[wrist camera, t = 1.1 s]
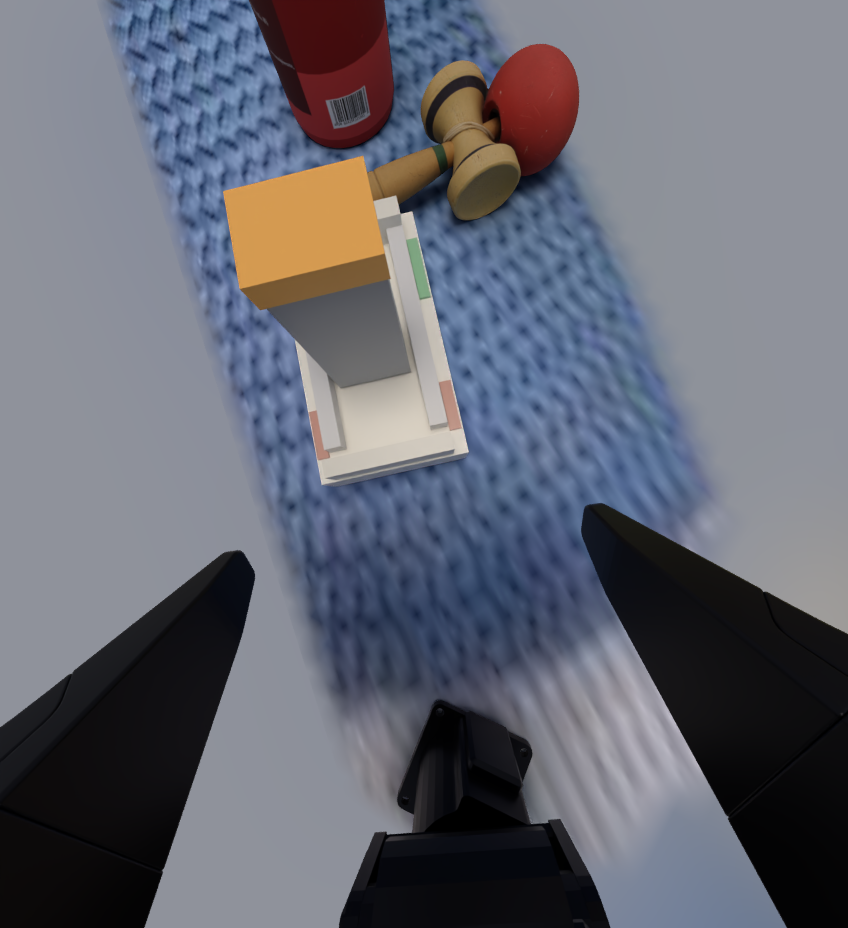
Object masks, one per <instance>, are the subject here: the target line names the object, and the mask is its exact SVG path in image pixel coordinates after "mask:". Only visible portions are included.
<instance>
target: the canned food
mask: <svg viewBox="0 0 848 928" xmlns="http://www.w3.org/2000/svg"><path fill="white" fill-rule="evenodd" d="M249 2H250V4H251V7H252V9H253V12H254V14H255V17H256V19H257V22H258V25H259V27H260V30H261V32H262V35H263V37H264V40H265V42H266V45H267V47H268V50H269V53H270V55H271V58H272V60H273V63H274V65H275V68H276V70H277V73H278V76H279V78H280V81H281V83H282V86H283V88H284V91H285V93H286V96H287V98H288V101H289V104H290V106H291V109H292V111H293V114H294V116H295V118H296V120H297V122H298V123H299V124H300V126H301V127H302V129H303V130H304V131H305V132H306V134H307V135H308V136H309V137H310V138H311V139H313V140H314V141H315V142H317V143H319V144H321V145H323V146H327V147H331V148H346V147H352V146H355V145H358V144H361V143H363V142H365V141H367V140H368V139H370V138H371V137H372V136H374V135H375V134H376V133H377V132H378V131H379V130H380V129H381V128H382V127H383V125H384V124H385V122H386V121H387V119H388V117H389V114H390V111H391V107H392V100H393V92H394V83H393V73H392V64H391V55H390V46H389V38H388V29H387V20H386V11H385V2H384V0H249Z"/></svg>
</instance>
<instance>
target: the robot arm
mask: <svg viewBox="0 0 848 928" xmlns="http://www.w3.org/2000/svg"><path fill="white" fill-rule="evenodd" d="M581 533H582V537H583V540H584V543H585V545H586V547H587V550H588V552H589V555H590V557H591V560H592V562H593V565H594V567H595V570H596V572H597V574H598V577H599V579H600V582H601V584H602V586H603V589H604V591H605V593H606V595H607V597H608V599H609V601H610V603H611V605H612V606H613V608H614V610H615V612H616V614H617V616H618V617H619V619H620V621H621V623H622V625H623V627H624V628H625V630H626V632H627V634H628V636H629V638H630V640H631V641H632V643H633V645H634V647H635V649H636V651H637V652H638V654H639V656H640V658H641V660H642V662H643V663H644V665H645V667H646V669H647V671H648V673H649V674H650V676H651V678H652V680H653V682H654V684H655V686H656V687H657V689H658V691H659V693H660V695H661V697H662V698H663V700H664V702H665V704H666V706H667V708H668V709H669V711H670V713H671V715H672V717H673V719H674V720H675V722H676V724H677V726H678V728H679V730H680V731H681V733H682V735H683V737H684V739H685V741H686V743H687V744H688V746H689V748H690V750H691V752H692V754H693V755H694V757H695V759H696V761H697V763H698V765H699V766H700V768H701V770H702V772H703V774H704V776H705V777H706V779H707V781H708V783H709V785H710V787H711V789H712V790H713V792H714V794H715V796H716V798H717V799H718V801H719V803H720V805H721V807H722V809H723V810H724V812H725V814H726V815H727V816H728V820H729V822H730V824H731V826H732V828H733V830H734V831H735V833H736V835H737V837H738V839H739V840H740V842H741V844H742V846H743V848H744V849H745V852H746V853H747V855H748V857H749V859H750V861H751V863H752V864H753V866H754V868H755V870H756V872H757V874H758V876H759V877H760V879H761V881H762V883H763V885H764V886H765V888H766V890H767V892H768V894H769V896H770V898H771V899H772V901H773V903H774V905H775V907H776V909H777V910H778V912H779V914H780V916H781V918H782V920H783V921H784V923H785V925H786V927H787V928H848V634H847V633H845V632H843V631H841V630H839V629H837V628H835V627H833V626H831V625H828V624H827V623H825V622H823V621H821V620H819V619H817V618H815V617H813V616H811V615H809V614H807V613H805V612H804V611H802V610H800V609H798V608H796V607H794V606H792V605H790V604H788V603H787V602H784V601H783V600H781V599H779V598H777V597H775V596H774V595H772V594H770V593H768V592H763V591H762V590H761V589H760V588H758V587H757V586H755V585H753V584H751V583H749V582H748V581H746V580H744V579H742V578H740V577H738V576H736V575H735V574H733V573H731V572H729V571H727V570H725V569H724V568H722V567H720V566H718V565H716V564H714V563H713V562H711V561H709V560H707V559H705V558H703V557H701V556H700V555H698V554H696V553H694V552H692V551H690V550H689V549H687V548H685V547H683V546H681V545H679V544H677V543H676V542H674V541H672V540H670V539H668V538H666V537H665V536H663V535H661V534H659V533H657V532H655V531H653V530H652V529H650V528H648V527H646V526H644V525H642V524H641V523H639V522H637V521H635V520H633V519H631V518H629V517H628V516H626V515H624V514H622V513H620V512H618V511H617V510H615V509H613V508H611V507H609V506H607V505H605V504H603V503H597V504H590V505H587V506H585V508H584V513H583V519H582V526H581ZM254 581H255V573H254V570H253V568H252V566H251V565H250V563H249V561H248V559H247V558H246V556H245V554H244V553H243V552H242V551H238V550H237V551H230V552H225V553H223V554H222V555H220V556H219V557H218V558H216V559H215V560H214V561H212V562H211V563H210V564H209V565H207V566H206V567H205V568H204V569H202V570H201V571H200V572H198V573H197V574H196V575H195V576H193V577H192V578H191V579H190V580H188V581H187V582H186V583H185V584H183V585H182V586H181V587H179V588H178V589H177V590H176V591H175V592H173V593H172V594H171V595H169V596H168V597H167V598H165V599H164V600H163V601H162V602H160V603H159V604H158V605H157V606H155V607H154V608H153V609H152V610H150V611H149V612H148V613H146V614H145V615H144V616H143V617H142V618H140V619H139V620H138V621H136V622H135V623H134V624H132V625H131V626H130V627H129V628H127V629H126V630H125V631H124V632H122V633H121V634H120V635H119V636H117V637H116V638H115V639H114V640H112V641H111V642H110V643H108V644H107V645H106V646H105V647H103V648H102V649H101V650H99V651H98V652H97V653H96V654H94V655H93V656H92V657H91V658H89V659H88V660H87V661H86V662H84V663H83V664H82V665H80V666H79V667H78V668H77V669H75V670H74V672H73V674H69V675H68V676H66V677H65V678H64V679H63V680H61V681H60V682H59V683H58V684H56V685H55V686H54V687H53V688H51V689H50V690H49V691H47V692H46V693H45V694H44V695H42V696H41V697H40V698H38V699H37V700H36V701H34V702H33V703H32V704H31V705H29V706H28V707H27V708H25V709H24V710H23V711H22V712H20V713H19V714H18V715H16V716H15V717H14V718H12V719H11V720H10V721H8V722H7V723H5V724H4V725H3V726H1V727H0V928H144V927H145V924H146V921H147V918H148V915H149V912H150V909H151V906H152V903H153V900H154V898H155V895H156V892H157V889H158V885H159V883H160V880H161V877H162V874H163V871H162V870H163V869H164V867H165V864H166V861H167V858H168V855H169V852H170V849H171V846H172V843H173V840H174V837H175V834H176V831H177V828H178V825H179V822H180V819H181V816H182V812H183V810H184V807H185V804H186V801H187V798H188V795H189V792H190V789H191V786H192V783H193V780H194V777H195V774H196V771H197V769H198V766H199V763H200V759H201V756H202V754H203V751H204V748H205V745H206V742H207V739H208V736H209V733H210V730H211V727H212V724H213V721H214V718H215V715H216V712H217V709H218V706H219V703H220V700H221V697H222V694H223V691H224V688H225V685H226V682H227V679H228V676H229V673H230V670H231V667H232V664H233V661H234V658H235V655H236V652H237V649H238V646H239V643H240V640H241V637H242V633H243V629H244V625H245V621H246V617H247V612H248V607H249V603H250V599H251V595H252V590H253V586H254ZM438 708H441V709H443V712H442V713H438V712H437V711H436V710H437V709H438ZM523 748H525V749H527V750H526V751H525V752H520V750H521V749H523ZM531 758H532V749H531V746H530V744H529V743H528V742H527V741H526V740H524V739H522V738H520V737H518V736H516V735H514V734H512V733H509V732H508V731H507V729H506V728H505V727H503V726H501V725H499V724H497V723H495V722H493V721H491V720H489V719H486V718H484V717H482V716H480V715H478V714H476V713H474V712H472V711H468V712H465V711H463V710H461V709H459V708H457V707H455V706H453V705H450V704H448V703H446V702H444V701H441V700H438V701H436V702H434V704H433V705H432V708H431V710H430V713H429V715H428V718H427V721H426V723H425V726H424V728H423V731H422V733H421V736H420V738H419V741H418V743H417V746H416V748H415V751H414V753H413V756H412V759H411V761H410V764H409V766H408V769H407V771H406V774H405V776H404V779H403V781H402V784H401V786H400V789H399V792H398V798H397V802H398V805H399V807H401V808H402V809H404V810H406V811H408V812H410V813H411V814H413V815H414V819H413V830H412V833H403V834H390V835H387V832H376V833H375V834H374V836H373V838H372V841H371V843H370V846H369V848H368V850H367V852H366V855H365V857H364V859H363V862H362V864H361V867H360V869H359V872H358V874H357V877H356V879H355V882H354V884H353V887H352V889H351V892H350V894H349V897H348V899H347V902H346V904H345V907H344V909H343V912H342V914H341V918H340V923H339V928H610V925H609V922H608V919H607V916H606V913H605V910H604V908H603V904H602V902H601V899H600V896H599V894H598V891H597V889H596V886H595V884H594V882H593V880H592V878H591V875H590V874H589V872H588V870H587V868H586V866H585V864H584V862H583V861H582V859H581V857H580V855H579V853H578V851H577V849H576V848H575V846H574V844H573V842H572V840H571V838H570V836H569V835H568V833H567V831H566V829H565V827H564V825H563V823H562V822H561V820H560V819H554V820H548V822H549V823H542V824H531V823H530V819H529V815H528V812H527V808H526V804H525V801H524V797H523V793H522V790H521V789H522V787H523V783H522V782H523V779H524V777H525V774H526V771H527V768H528V766H529V763H530V760H531ZM403 796H407V797H408V798H409V799H404V798H403Z"/></svg>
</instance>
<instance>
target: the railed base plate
mask: <svg viewBox="0 0 848 928" xmlns="http://www.w3.org/2000/svg"><path fill="white" fill-rule="evenodd" d="M374 206H375V210H376V215H377V219H378V224H379V228H380V233H381V237H382V242H383V246H384V251H385V255H386V260H387V264H388V269H389V273H390V278H391V279H390V283H391V287H392V291H393V296H394V300H395V304H396V308H397V312H398V316H399V320H400V324H401V329H402V333H403V338H404V342H405V347H406V351H407V356H408V360H409V365H410V369H411V372H407V373H403V374H399V375H394V376H390V377H386V378H381V379H377V380H373V381H368V382H364V383H360V384H355V385H351V386H347V387H343V388H340V387H339V386H338V385H337V384H336V383H335V382H334V381H333V380H332V379H331V377H330V376H329V375H328V374H327V373H326V372H325V371H324V370H323V369H322V368H321V367H320V366H319V365H318V363H317V362H316V361H315V360H314V359H313V358H312V357H311V356H310V355H309V354H308V353H307V352H306V351H305V350H304V348H303V347H302V346H301V345H300V344H299V343H298V342H297V341H296V340H295V343H296V348H297V353H298V359H299V364H300V370H301V375H302V380H303V386H304V391H305V397H306V402H307V407H308V413H309V418H310V424H311V429H312V435H313V440H314V445H315V451H316V456H317V462H318V467H319V472H320V478H321V483H322V485H327V486H336V487H338V486H342V485H347V484H351V483H356V482H360V481H365V480H369V479H374V478H378V477H383V476H387V475H392V474H396V473H401V472H405V471H410V470H414V469H419V468H423V467H427V466H432V465H436V464H441V463H445V462H450V461H454V460H459V459H463V458H466V456H467V454H468V453H469V451H468V447H467V443H466V438H465V434H464V430H463V426H462V421H461V417H460V413H459V409H458V404H457V400H456V396H455V392H454V387H453V383H452V379H451V375H450V370H449V366H448V362H447V358H446V353H445V349H444V345H443V341H442V336H441V332H440V328H439V324H438V319H437V315H436V311H435V307H434V302H433V298H432V294H431V289H430V285H429V281H428V277H427V272H426V268H425V264H424V260H423V255H422V251H421V247H420V243H419V238H418V234H417V230H416V226H415V221H414V217H413V213H412V211H411V212H407V213H403V214H400V210H399V205H398V201H397V197H396V196H392V197H388V198H384V199H380V200H376V201H374Z"/></svg>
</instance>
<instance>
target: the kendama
mask: <svg viewBox="0 0 848 928" xmlns="http://www.w3.org/2000/svg"><path fill="white" fill-rule="evenodd" d="M578 106H579V87H578V80H577V75H576V72H575V69H574V67H573V65H572V63H571V62H570V60H569V59H568V57H567V56H566V55H565V54H564V53H563V52H562V51H561V50H559V49H557V48H555V47H553V46H550V45H547V44H536V45H530V46H528V47H525V48H523V49H521V50H520V51H518V52H516V53H515V54H514V55H512V56H511V57H510V58H509V59H508V60H507V61H506V62H505V64H504V65H503V66H502V67H501V68H500V70H499V71H498V73H497V74H496V76H495V78H494V80H493V82H492V84H491V86H490V88H489V89H488V88H487V85H486V82H485V80H484V77H483V75H482V73H481V71H480V69H479V68H478V67H477V66H476V64H474V63H472V62H469V61H458V62H453V63H451V64H449V65H447V66H446V67H444V68H443V69H442V70H441V71H439V72H438V73H437V74H436V75H435V76H434V78H433V79H432V80H431V82H430V83H429V85H428V87H427V89H426V91H425V93H424V96H423V99H422V103H421V118H422V122H423V125H424V129H425V132H426V134H427V136H428V137H429V138H430V139H431V140H432V141H434V142H436V143H439V144H440V145H437V146H433V147H430V148H427V149H424V150H421V151H419V152H416V153H413V154H410V155H407V156H404V157H402V158H399V159H397V160H394V161H392V162H390V163H387V164H385V165H383V166H381V167H378V168H376V169H375V170H374V172H372V171H370V172H368V173H367V175H368V179H369V183H370V188H371V192H372V197H373V201H376V200H380V199H384V198H388V197H392V196H396V197H397V201H398V205H399V204H401V203H402V202H404V201H406V200H407V199H409V198H410V197H412V196H413V195H414V194H416V193H417V192H419V191H420V190H421V189H423V188H424V187H425V186H427V185H428V184H430V183H431V182H432V181H433V180H435V179H436V178H437V177H439V176H440V175H441V174H443V173H444V172H445V171H447V170H448V169H449V168H451V167H452V166H453V176H452V178H451V180H450V183H449V186H448V190H447V198H448V201H449V203H450V205H451V208H452V210H453V212H454V214H455V216H456V217H457V218H458V219H461V220H474V219H478V218H480V217H483V216H485V215H487V214H489V213H491V212H492V211H494V210H496V209H497V208H498V207H499V206H501V205H502V204H503V203H504V202H505V201H506V200H507V199H508V198H509V196H510V195H511V194H512V193H513V191H514V190H515V188H516V186H517V184H518V182H519V180H520V176H528V175H531V174H534V173H537V172H539V171H541V170H542V169H544V168H545V167H547V166H548V165H549V164H550V163H551V162H552V161H553V160H554V159H555V158H556V157H557V156H558V155H559V154H560V152H561V151H562V149H563V148H564V146H565V145H566V143H567V141H568V140H569V138H570V135H571V133H572V131H573V128H574V125H575V122H576V118H577V114H578Z"/></svg>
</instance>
